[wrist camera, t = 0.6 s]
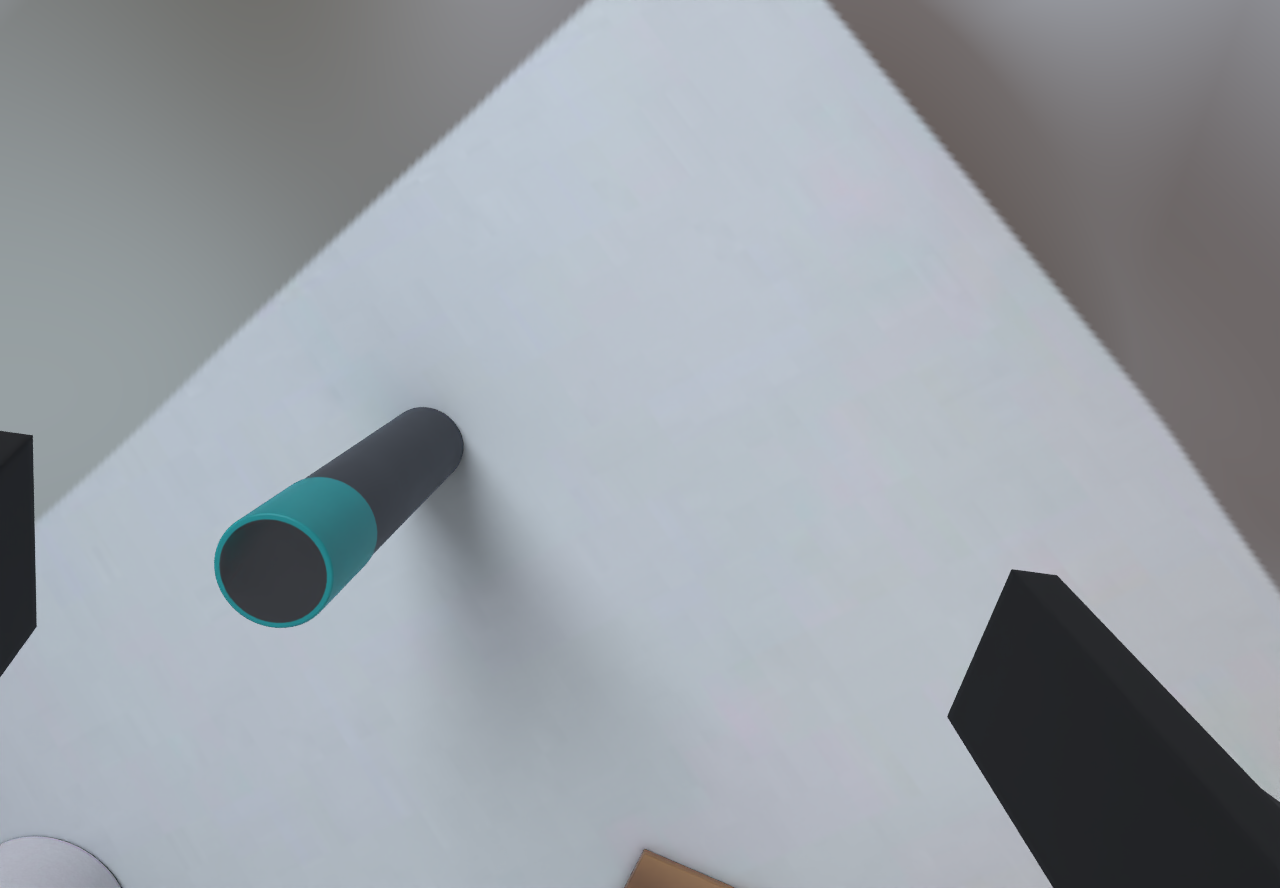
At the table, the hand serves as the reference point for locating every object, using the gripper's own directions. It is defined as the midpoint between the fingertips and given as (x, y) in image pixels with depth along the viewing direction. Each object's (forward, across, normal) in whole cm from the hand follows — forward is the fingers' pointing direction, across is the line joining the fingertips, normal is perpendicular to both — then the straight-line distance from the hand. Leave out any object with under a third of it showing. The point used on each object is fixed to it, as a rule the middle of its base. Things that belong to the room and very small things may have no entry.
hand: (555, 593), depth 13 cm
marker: (+20, -2, -7) cm, 21 cm away
